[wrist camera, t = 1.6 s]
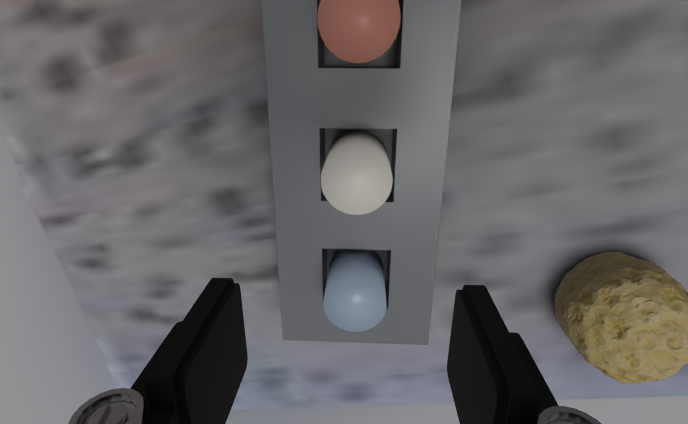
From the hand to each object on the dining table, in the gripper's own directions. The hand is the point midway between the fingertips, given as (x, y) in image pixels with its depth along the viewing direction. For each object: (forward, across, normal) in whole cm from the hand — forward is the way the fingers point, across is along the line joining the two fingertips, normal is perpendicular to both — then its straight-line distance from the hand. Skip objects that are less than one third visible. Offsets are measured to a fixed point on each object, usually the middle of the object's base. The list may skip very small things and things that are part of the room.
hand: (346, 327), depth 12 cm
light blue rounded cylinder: (+19, 0, +9) cm, 21 cm away
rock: (+23, -22, +13) cm, 34 cm away
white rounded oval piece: (+19, 0, 0) cm, 19 cm away
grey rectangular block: (+23, 0, 0) cm, 23 cm away
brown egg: (+19, 0, -9) cm, 21 cm away
